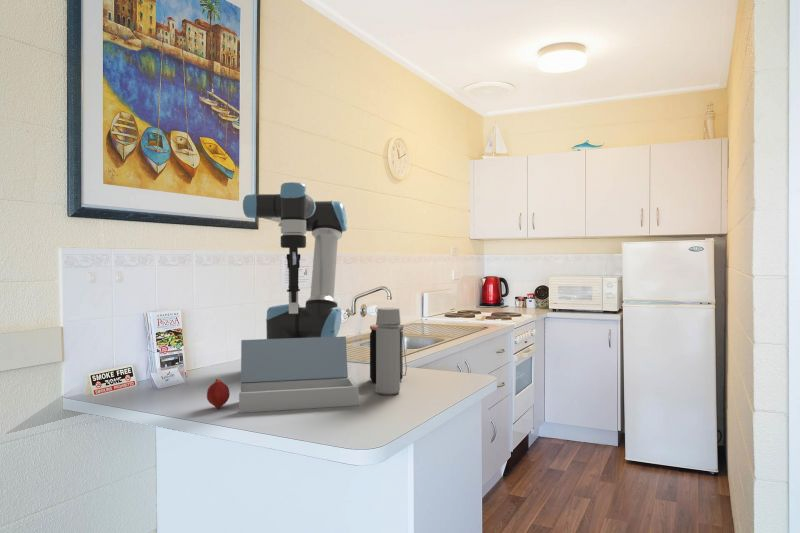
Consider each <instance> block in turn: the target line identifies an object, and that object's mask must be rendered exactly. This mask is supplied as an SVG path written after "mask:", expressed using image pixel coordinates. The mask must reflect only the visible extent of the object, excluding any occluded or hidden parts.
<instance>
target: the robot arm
mask: <svg viewBox="0 0 800 533" xmlns="http://www.w3.org/2000/svg"><path fill="white" fill-rule="evenodd" d="M279 192H280V193H275V194H273V193H271V194H267V193H265V194H264V193H262V194H259V193H258V194H257V193H253V194H246V195H245V196H244V197H243V200H242V210H243V214H244V216H245V217H246V218H248V219H249V218H250V219H265V220H270V221H271V222H276V223H278V227H280V234H282V235H281V236H280V247H281V248H283V249H288V250H289V251H288V253H287V254H286V260H287V262H286V263H287V269H288V287H287V288H288V289H286V292H287V293H288V303H286V304H280V305H273V306H270V307H268V308H267V310H266V319H265V321H266V323H265V324H266V326H265V327H266V339H286V338H316V337H338V335H339V332H340V329H341V323H342V315H343V314H342V309H341V308H340V307H338V302H337V301H336V300H335V284H336V283H335V282H336V271H337V269H336V268H337V258H338V257H337V255H338V254H337V253H338V241H339V240H340V239H341V238H342V236H343V233H345V232H346V231H347V228H348V223H347V222H348V221H347V214H346V210H345V206H344V205H345V204H344V203H343V202H341V201H338V200H337V201H335V200H330V201H329V200H328V201H327V200H325V201H323V200H322V201H319V200H318V201H317V200H316V201H315V200H314V199H313V198H312V197H311V196H310V195H308V194H307V192H308V191H307V188H306V184H304V183H303V182H293V181H291V182H283V183H282V184H281V185H280V191H279ZM307 232H311V235H312V237H313V238H314V248H313V260H312V273H311V284H310V285H311V286H310V296H309V298H308V299H307V300H305V306H302V307H301V306H300V304H299V292H301V288H300V286H299V272H300V271H299V269H300V267H301V266H300V265H301V264H300V261H301V253H298V251H299V250H298V249H305V248H306V247H307V237H306V234H307Z"/></svg>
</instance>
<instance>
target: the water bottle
mask: <svg viewBox="0 0 800 533" xmlns="http://www.w3.org/2000/svg"><path fill="white" fill-rule="evenodd" d="M400 312H401V311H400V308H399V307H380V308H379V307H378V308H377V310H376V322H375V325H377V326H378V327H376V383H375V385H376V388H375V391H376V393H378V394H379V395H383V396H392V395H396V394H398V393H400V390H401V381H400V371H401V363H402V335H403V336H404V331H403V330H404V325H403V324H401V322H402V321H401V313H400ZM400 327H401V332H402V335H401V363H400ZM403 352H404V353H403V354H404V361H405V363H404V364H405V372H404V373H403V374H402V373H401V374H402V376H403V377H404V376H405V377H406V375H407V369H408V366H407V357H406V349H405V339H404V338H403Z"/></svg>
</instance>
